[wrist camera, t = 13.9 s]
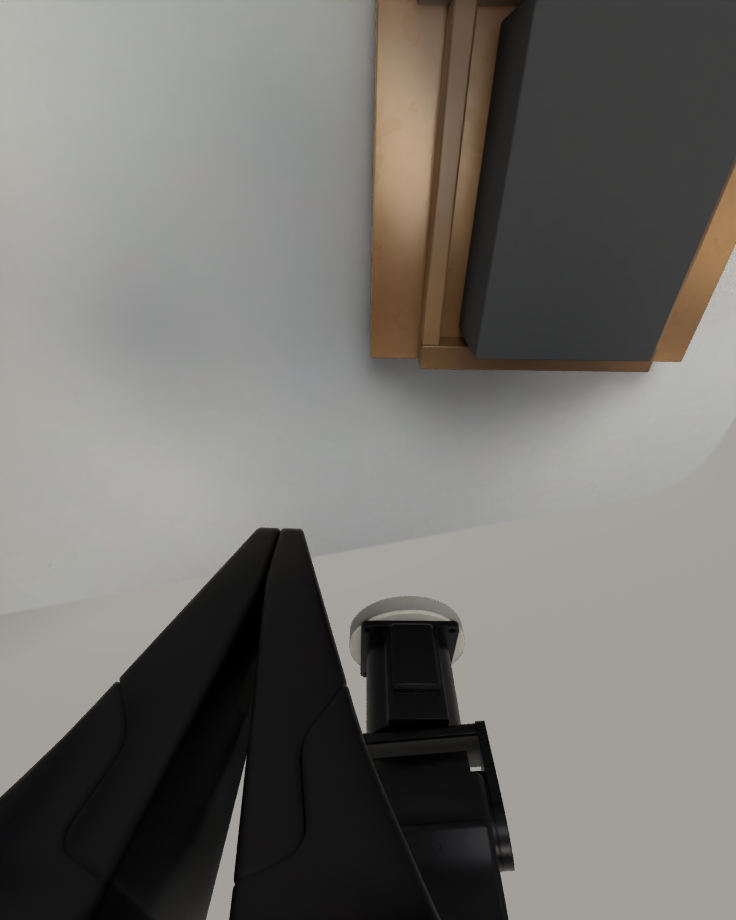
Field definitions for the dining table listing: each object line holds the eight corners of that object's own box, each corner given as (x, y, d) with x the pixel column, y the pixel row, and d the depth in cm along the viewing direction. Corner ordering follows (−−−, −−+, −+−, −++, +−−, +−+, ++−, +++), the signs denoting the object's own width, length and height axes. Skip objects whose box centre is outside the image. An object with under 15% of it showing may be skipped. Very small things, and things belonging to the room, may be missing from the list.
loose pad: (607, 329, 16) (650, 362, 14) (458, 327, 16) (474, 359, 13) (711, 25, 11) (805, -8, 9) (500, 20, 11) (538, -15, 9)
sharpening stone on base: (660, 347, 18) (735, 398, 14) (369, 343, 18) (371, 394, 14) (1090, -666, 7) (1789, -1450, 4) (388, -696, 7) (412, -1537, 4)
